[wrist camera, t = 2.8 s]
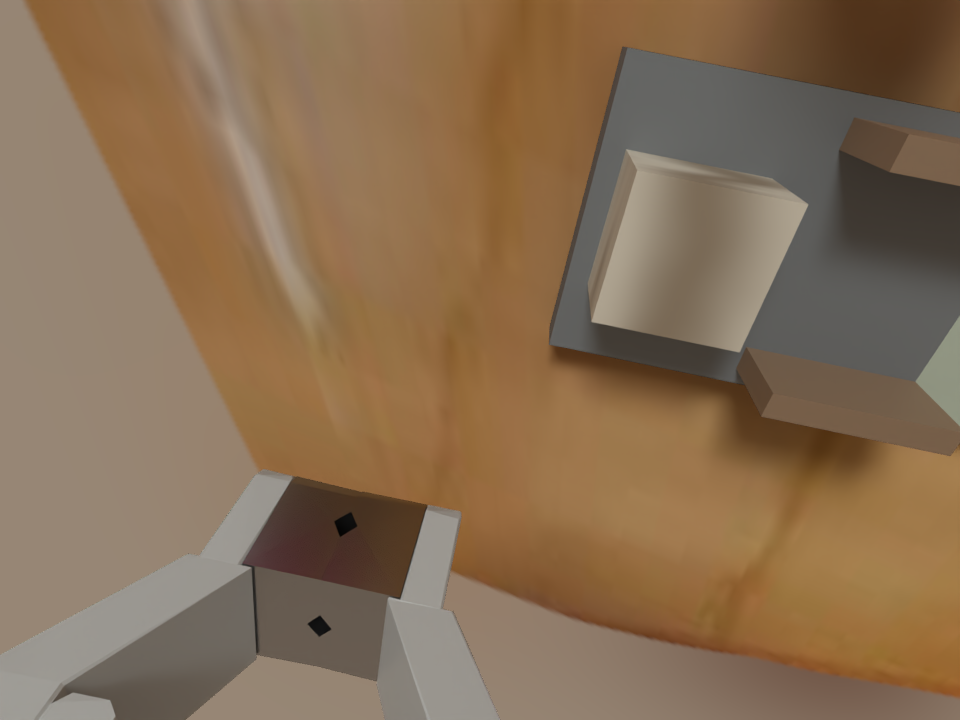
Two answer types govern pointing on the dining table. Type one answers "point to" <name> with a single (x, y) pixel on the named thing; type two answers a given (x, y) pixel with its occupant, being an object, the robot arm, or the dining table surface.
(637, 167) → the birch block
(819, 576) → the dining table surface
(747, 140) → the board
